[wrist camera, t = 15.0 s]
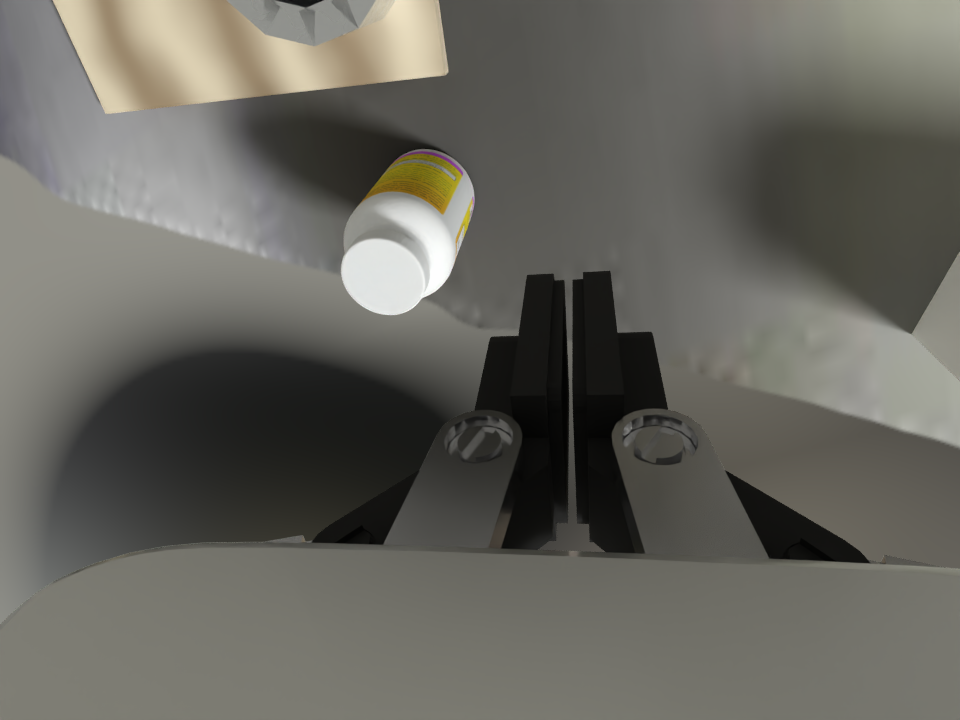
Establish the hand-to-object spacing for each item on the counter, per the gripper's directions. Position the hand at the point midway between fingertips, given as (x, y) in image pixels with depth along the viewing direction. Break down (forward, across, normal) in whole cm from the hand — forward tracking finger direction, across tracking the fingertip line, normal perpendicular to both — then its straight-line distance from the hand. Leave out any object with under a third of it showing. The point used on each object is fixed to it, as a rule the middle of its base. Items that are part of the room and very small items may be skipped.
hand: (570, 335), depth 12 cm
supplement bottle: (+29, +10, +6) cm, 32 cm away
